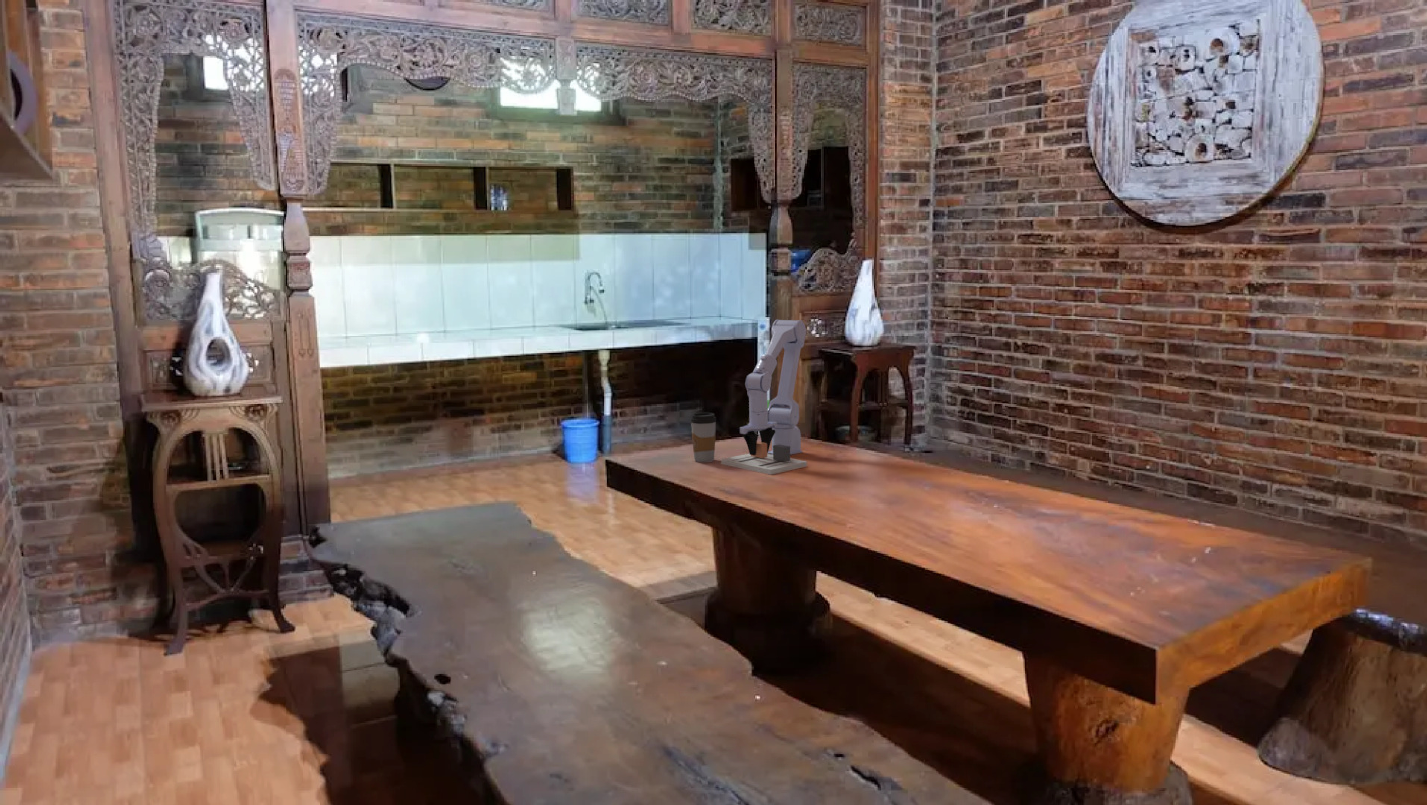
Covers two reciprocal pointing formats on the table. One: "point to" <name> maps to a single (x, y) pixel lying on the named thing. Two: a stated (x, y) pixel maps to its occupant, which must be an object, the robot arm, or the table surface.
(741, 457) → the mixer plate
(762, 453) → the block
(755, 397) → the robot arm
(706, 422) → the coffee cup
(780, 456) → the fader
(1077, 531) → the table surface
